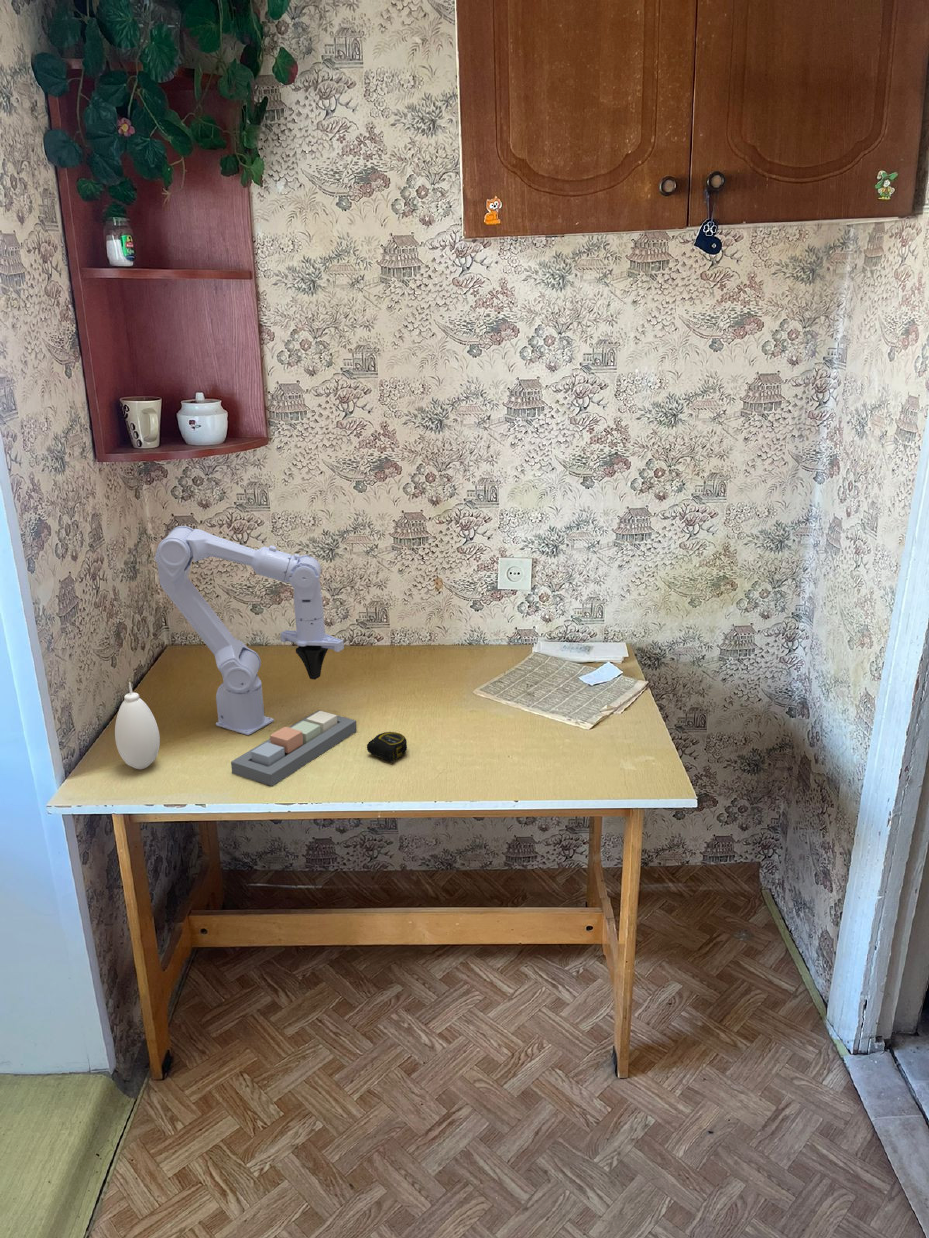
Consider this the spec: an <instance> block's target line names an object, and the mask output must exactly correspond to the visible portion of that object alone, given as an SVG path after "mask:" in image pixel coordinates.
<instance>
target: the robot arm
mask: <svg viewBox="0 0 929 1238" xmlns="http://www.w3.org/2000/svg"><path fill="white" fill-rule="evenodd" d="M211 557H213V558H217V559H222V560H225V561H230V562H233V563H238V564H242V565H246V566H250V567H251V568H252V570H253V571H254V572H255V575H259V576H263V577H266V578H269V579H272V580H276V581H278V582H283V583H286V584H288V583H289V584H290V586H291V587H292V588H293V606H294V616H295V618H294V619H295V627H296V630H290V629H289V630H287V629H285V630H284V631H282V632H280V633H279V635H280V642H283V643H286V642H290V643H295V644H296V646H298V647H296V648H295V653H296V654H297V655H298V657H299V659H301V661H302V663H303V665H304V668H305V670H306V672H307V675H308V677H309V680H313V681H314V680H317V679H318V678H320V677H321V674H322V667H323V663H324V660H325V657H326V654H327V652H328V650H333V651H334V652H336V653H339V652H341V651H342V650H345V646H344V645H345V644H344V643H345V642H344V639H340V638H337V637H334V636H332V635H330V634H327V633H326V627H325V616H324V615H325V614H324V604H323V603H324V601H323V595H322V592H321V591H322V586H321V581H320V578H321V574H322V566H321V564H320V562H319V561H318V560H317V559H316V558H315V557H312V556H311V555H309V554H303V555H301V554H298V553H294V554H291V553H288V552H284V551H280V550H278V548H277V546H276V545H269V547H267V546H262V547H261V548H258V549H253V548H251V547H248V546H245V545H243V544H240V543H237V542H234V541H231V540H228V539H225V538H222V537H220V536H217V535H214V534H211V533H209V532H207V531H205V530H202V529H200V528H194V529H193V528H192V527H190V526H188V525H187V526H186V525H180V526H179V525H178V526H176V527H174V528H172V530H171V531H170V532H169V534H168V535H167V536H166V537H165V538H163V539H161V541H160V542H159V544H158V545H157V548H156V551H155V556H154V561H155V562H156V566H157V572H158V581H159V585H160V587H161V589H162V590H163V591H164V592H165V593H164V594H166V595H167V597H168V598H169V599H170V601H172V603H173V604H174V605H175V607H176V608H177V609H178V610H179V612H180V614H182V615H183V617H184V618H185V620H187V622H188V623H189V624H190V626H191V627H192V628H193V630H194V631H195V632H196V633H197V634H198V636H199V637H200V639H202V641H203V642H204V643H205V646H207V648H208V649H209V650H210V651H211V653H212V654H213V655H214V658H215V664H216V668H217V669H218V671H219V672H220V673H221V675H222V680H223V682H222V683H221V684H220V685H219V686H218V688H217V690H216V695H215V702H216V710H217V721H216V723H215V726H217V727H220V728H223V729H226V730H229V731H233V732H236V733H239V734H243V735H247V736H249V735H252V734H254V733H255V732H258V730H260V729H262V728H264V727H266V726H268V725H269V724H271V723H273V722H274V718H272V717H269V716H266V715H265V709H264V699H263V698H264V694H263V686H262V680H261V679H260V677H259V675H258V672H259V670H260V669H261V666H262V660H261V658H260V656H259V654H258V653H257V652H256V651H255V650H253V649H251V648H249V647H248V646H247V645H246V643H245V642H243V641H242V640H239V639H237V638H235V637H234V636H233V634H232V633H231V632H230V630H229V629H228V627H226V625H225V624H224V622H223V621H222V620H221V619H220V617H219V616H218V615H217V614H216V611H214V609H213V608H212V607H211V605H210V604H209V603H208V602H207V600H206V599H205V598H204V597H203V595H202V594H201V593H200V592H199V590H198V588H197V586H195V585H194V584H193V582H192V581H191V580H190V579H189V575H190V569H191V565H192V561H193V562H194V563H197V562H198V561H201V560H204V559H207V558H211Z"/></svg>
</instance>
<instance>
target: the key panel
mask: <svg viewBox="0 0 929 1238" xmlns="http://www.w3.org/2000/svg"><path fill="white" fill-rule="evenodd" d="M319 711H321V710H319V709H317V710H316V711H314V712H312V714H311V713H310V714H309V715H308V716H306V717H305V718H302V719H301V720H299V721H297V722H296V723H294V724H292V725H291V726H289V727H288V728H292V727H293V726H295V725H297V724H298V723H300V722H302V721H306V719H307V718H309V717H310V716H312V715H314V714H315V713H317V712H319ZM329 713H330V712H329ZM330 714H332V713H330ZM306 722H307V721H306ZM357 730H358V729H357V720H356V719H352V718H348V717H345V716H341V715H337V725H335V726H333V727H332V728H330V729H329V730H327V731H325V732H324V733H322V734H320V735H319V736H317V737H316V738H314V739H312V740H311V741H309V742H308V743H306V744H304V745H303V746H302V745H301V746H300V747H298V748H296V749H295V750H293V751H292V752H290V753H285V757H284V758H282V759H280V760H279V761H277V762H276V763H274V764H272V765H271V766H269V767H267V766H264V765H261V764H257V763H254V762H252V756H251V751H253V750H254V749H256V748H258V747H260V746H261V745H263V744H265V743H266V742H268V743H271V742H270V738H268V739H267V740H265V741H263V742H262V743H260V744H258V745H256V746H255V747H253V748H251V749H250V750H248V751H247V752H244V753H243V754H242V755H240V756H238V757H236V758H234V759H233V760H231V761H230V765H231V766H230V767H231V773H232V774H233V775H236V776H240V777H241V778H245V779H248V780H252V781H255V782H257V783H259V784H262V785H263V784H264V785H266V786H268V787H271V788H272V787H274V786H275V785H277V784H278V783H280V782H281V781H283V780H285V779H286V778H287V777H289V776H291V775H292V774H295V772H296V771H298V770H300V769H302V768H303V767H304V766H306V765H307V764H309V763H311V762H312V761H314V760H315V759H316V758H318V757H320V756H321V755H323V754H325V753H326V752H328V751H329V750H330V749H332V748H333V747H335V746H337V745H338V744H340V743H342V742H343V741H344V740H346V739H347V738H349V737H350V736H352V735H353V734H355V733H356V732H358V731H357Z"/></svg>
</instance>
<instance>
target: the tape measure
mask: <svg viewBox="0 0 929 1238" xmlns="http://www.w3.org/2000/svg"><path fill="white" fill-rule="evenodd" d="M407 743H408V742H407V738H406V737H405V736H404V735H403V734H401V733H400V732H396V731H385V732H381V733H379V734H377V735H376V736H375V737H374V738H372V739H371V740H369V741H368V742H367V744H366V750H367V752H368V753H369V754H370V755H372V756H373V755H374V756H376V757H378V758H381V759H384V760H386V761H387V762H392V763H393V762H395V761H396V760H397V759H399V758H402V757H403V756H404V755H405V754H406V752H407V751H408V745H407Z"/></svg>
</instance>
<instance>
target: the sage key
mask: <svg viewBox="0 0 929 1238" xmlns="http://www.w3.org/2000/svg"><path fill="white" fill-rule="evenodd" d="M292 729H295V730H299V731H302V736H303V745H304V744H306V743H308V742H309V741H311V740H312V739H314V738H316V737H317V736H319V735H320V734H321V732H320V725H316V724H313V723H309V722H306V721H302V722H300V723H298V724H297V725H295V726H293V727H292ZM303 745H302V746H303Z"/></svg>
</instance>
